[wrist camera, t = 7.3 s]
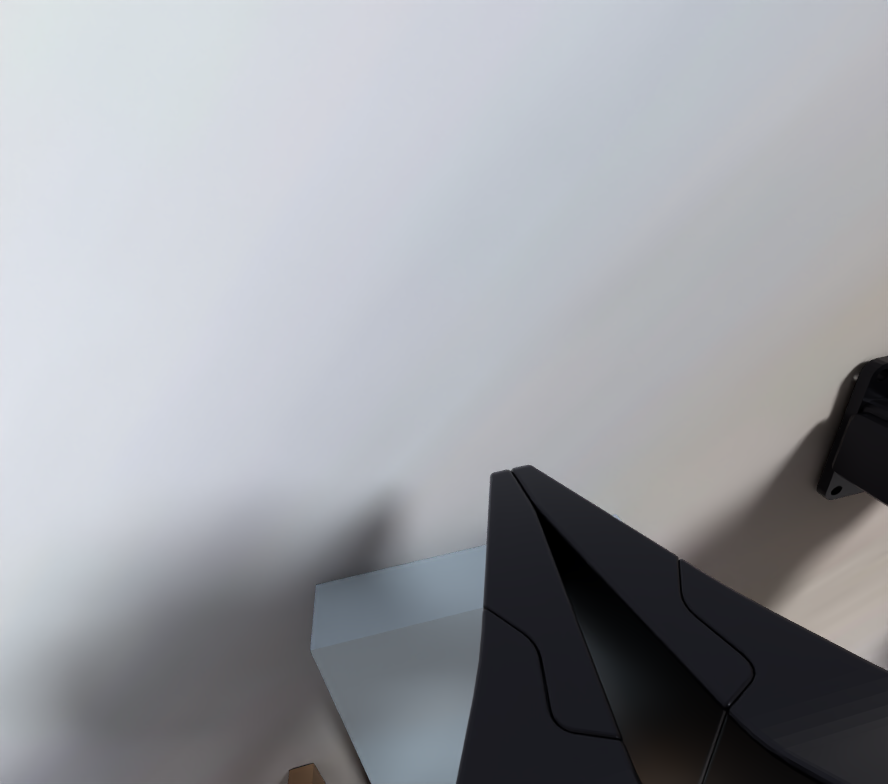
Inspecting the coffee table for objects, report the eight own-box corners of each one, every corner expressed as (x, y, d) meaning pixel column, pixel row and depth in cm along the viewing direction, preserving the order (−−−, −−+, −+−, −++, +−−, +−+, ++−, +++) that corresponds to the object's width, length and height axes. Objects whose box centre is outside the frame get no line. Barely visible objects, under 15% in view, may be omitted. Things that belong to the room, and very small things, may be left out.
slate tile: (610, 506, 18) (654, 564, 15) (591, 724, 27) (617, 786, 24) (316, 574, 17) (310, 650, 14) (397, 780, 25) (402, 851, 23)
